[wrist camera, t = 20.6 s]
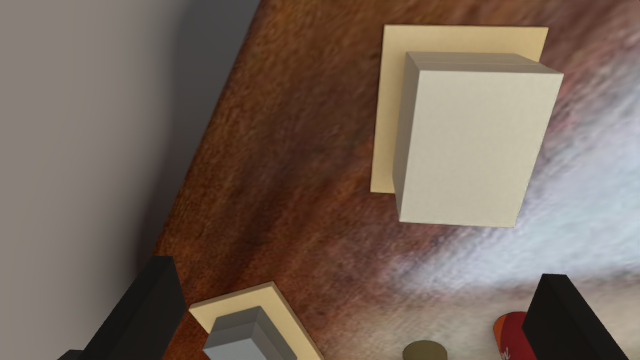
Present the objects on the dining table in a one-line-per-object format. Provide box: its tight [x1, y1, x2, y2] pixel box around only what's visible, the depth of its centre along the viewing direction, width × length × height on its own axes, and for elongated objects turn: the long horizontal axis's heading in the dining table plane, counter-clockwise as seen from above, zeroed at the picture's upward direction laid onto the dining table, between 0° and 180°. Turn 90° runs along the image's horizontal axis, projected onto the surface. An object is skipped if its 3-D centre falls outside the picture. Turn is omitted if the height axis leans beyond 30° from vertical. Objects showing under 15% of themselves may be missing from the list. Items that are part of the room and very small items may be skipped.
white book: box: [396, 62, 564, 228], centre depth 27 cm, size 12×9×3 cm
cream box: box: [370, 24, 548, 197], centre depth 31 cm, size 16×13×6 cm
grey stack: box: [189, 281, 324, 360], centre depth 48 cm, size 16×13×6 cm
